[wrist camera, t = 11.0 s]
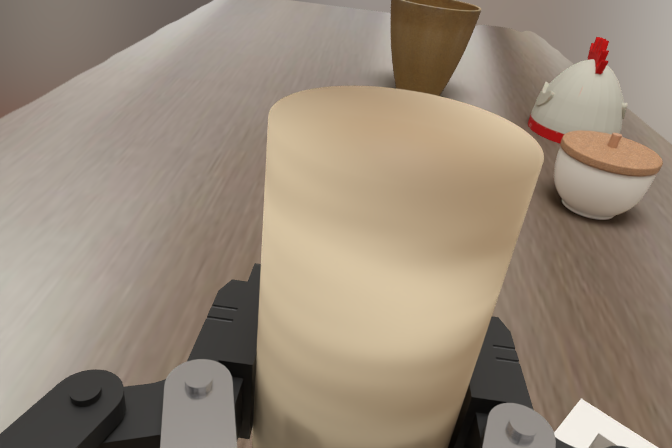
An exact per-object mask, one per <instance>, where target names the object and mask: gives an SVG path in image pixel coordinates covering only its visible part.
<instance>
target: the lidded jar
mask: <svg viewBox="0 0 672 448" xmlns="http://www.w3.org/2000/svg"><path fill="white" fill-rule="evenodd" d="M662 164H663V163H662V159H661V157H660V156H659V155H658V154H657V153H655V152H654V151H652V150H651V149H649V148H647V147H646V146H644V145H642V144H639V143H637V142H634V141H632V140H629V139H626V138H623V137H622V135H621V134H619V133H612V134H608V133H603V132H596V131H582V130H578V131H571V132H568V133H566V134H565V135H563V137H562V140H561V143H560V149H559V152H558V155H557V158H556V162H555V168H554V182H555V186H556V189H557V191H558V194H559V195H560V197H561V198H562V203H563V205H564V206H565V207H566V208H568V209H569V210H571V211H572V212H574V213H576V214H579V215H581V216H584V217H587V218H591V219H597V220H608V219H611V218H613V217H614V216H615V215H618V214H621V213H624V212H626V211H628V210H629V209H631V208H632V207H634V206H635V205H636V204H637V203H638V202H639V201H640V200H641V199H642V198H643V197H644V195H645V194H646V192H647V191H648V189H649V188H650V186H651V184H652V182H653V180H654V178H655V176H656V174H657V173H658V172H659V170H660V168H661V166H662Z"/></svg>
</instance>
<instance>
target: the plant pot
mask: <svg viewBox="0 0 672 448" xmlns="http://www.w3.org/2000/svg"><path fill="white" fill-rule="evenodd" d="M480 12H481V8H480V7H478V6H475V5H472V4H469V3H465V2H462V1H457V0H391V51H392V63H393V71H394V78H395V84H396V89H403V90H410V91H416V92H422V93H427V94H432V95H436V96H440V94H441V93H442V91H443V90H444V88H445V86H446V85H447V83H448V82H449V80H450V78H451V76H452V74H453V73H454V71H455V69H456V67H457V65H458V63H459V61H460V59H461V57H462V55H463V53H464V51H465V49H466V47H467V44H468V42H469V40H470V37H471V35H472V33H473V30H474V28H475V25H476V23H477V20H478V18H479V15H480Z"/></svg>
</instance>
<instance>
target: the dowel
mask: <svg viewBox="0 0 672 448" xmlns="http://www.w3.org/2000/svg"><path fill="white" fill-rule="evenodd" d="M543 161H544V154H543V151H542V149H541V147H540V145H539V144H538V143H537V141H536V140H535V139H534V138H533V137H532V136H531V135H530V134H528V133H527V132H526V131H524V130H523V129H522V128H520V127H518V126H517V125H515V124H514V123H512V122H510V121H508V120H506V119H504V118H502V117H500V116H498V115H496V114H493V113H491V112H489V111H486V110H483V109H481V108H478V107H475V106H472V105H469V104H466V103H463V102H460V101H456V100H452V99H449V98H445V97H441V96H436V95H432V94H427V93H422V92H416V91H410V90H403V89H395V88H386V87H373V86H333V87H322V88H315V89H309V90H305V91H300V92H297V93H294V94H291V95H289V96H286V97H284V98H282V99H281V100H279V101H278V102H276V103H275V104H274V105H273V106H272V108H271V110H270V111H269V117H268V134H267V154H266V174H265V194H264V214H263V234H262V254H261V273H260V293H259V313H258V333H257V356H256V376H255V396H254V416H253V433H252V448H448V446H449V443H450V440H451V437H452V434H453V431H454V428H455V425H456V422H457V419H458V416H459V413H460V410H461V407H462V404H463V401H464V398H465V395H466V392H467V389H468V386H469V383H470V380H471V377H472V374H473V371H474V368H475V365H476V362H477V359H478V356H479V353H480V350H481V347H482V344H483V341H484V338H485V335H486V332H487V329H488V326H489V323H490V320H491V317H492V314H493V311H494V308H495V305H496V302H497V299H498V296H499V293H500V290H501V287H502V284H503V281H504V278H505V275H506V272H507V269H508V266H509V263H510V260H511V257H512V254H513V251H514V248H515V245H516V242H517V239H518V236H519V233H520V230H521V227H522V224H523V221H524V218H525V215H526V212H527V209H528V206H529V203H530V200H531V197H532V194H533V191H534V188H535V185H536V182H537V179H538V176H539V173H540V170H541V167H542V164H543Z"/></svg>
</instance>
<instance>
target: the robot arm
mask: <svg viewBox="0 0 672 448" xmlns="http://www.w3.org/2000/svg"><path fill="white" fill-rule="evenodd" d="M260 273H261V264H256V263H255V265H254V267H253V269H252V272H251V275H250V277H249V280H248V282H246V281H239V280H231V281H230V282H229V283H227V284H226V285H225V286H224V287H222V288H221V289H220V290H219V291H218V293H217V296H216V298H215V300H214V302H213V304H212V307H211V309H210V311H209V313H208V316H207V319H206V320H205V322H204V325H203V327H202V329H201V331H200V334H199V336H198V338H197V340H196V342H195V345H194V347H193V349H192V351H191V354H190V356H189V358H188V360H187V362H185V363H182V364H181V365H179V366H177V367H176V368H175V369H173V370H172V371H171V372H170V374H169V375H168V376H167V378H166V379H165V380H162V381H159V382H156V383H151V384H144V385H135V386H127V387H123V384H122V381H121V380H120V378H119V377H117V376H116V375H115V374H113V373H111V372H108V371H105V370H87V371H82V372H79V373H76V374H73V375H71V376H69V377H67V378H66V379H64V380H63V381H61V382H60V383H59V384H57V385H56V386H55V387H54V388H53V389H52V390H51V391H49V392H48V393H47V394H46V395H45V396H44V397H42V398H41V399H40V400H39V401H38V402H37V403H35V404H34V405H33V406H32V407H31V408H30V409H29V410H27V411H26V412H25V413H24V414H23V415H22V416H20V417H19V418H18V419H17V420H16V421H15V422H13V423H12V424H11V425H10V426H9V427H8V428H7V429H5V430H4V431H3V432H2V433H1V434H0V448H237V439H238V438H245V439H249V438H250V435H251V431H252V427H253V416H254V396H255V376H256V356H257V333H258V313H259V293H260ZM448 448H575V447H573V446H571V445H568V444H566V443H564V442H562V441H561V440H559V439H557V438H556V437H555V435H554V432H553V430H552V428H551V426H550V425H549V423H548V422H547V421H546V420H545V419H544V418H543V417H542V416H541V415H540V414H538V413H537V412H536V411H534V410H533V407H532V403H531V400H530V396H529V393H528V390H527V386H526V383H525V380H524V376H523V373H522V369H521V366H520V364H519V359H518V356H517V353H516V351H515V346H514V342H513V339H512V336H511V332H510V331H509V330H508V329H507V327H506V326H505V325H504V324H503V322H502V321H501V320H500V319H499V318H498V317H491V320H490V323H489V326H488V329H487V332H486V335H485V338H484V341H483V344H482V347H481V350H480V353H479V356H478V359H477V362H476V365H475V368H474V371H473V374H472V377H471V380H470V383H469V386H468V389H467V392H466V395H465V398H464V401H463V404H462V407H461V410H460V413H459V416H458V419H457V422H456V425H455V428H454V431H453V434H452V437H451V440H450V443H449V446H448ZM606 448H628V447H624V446H609V447H606Z"/></svg>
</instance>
